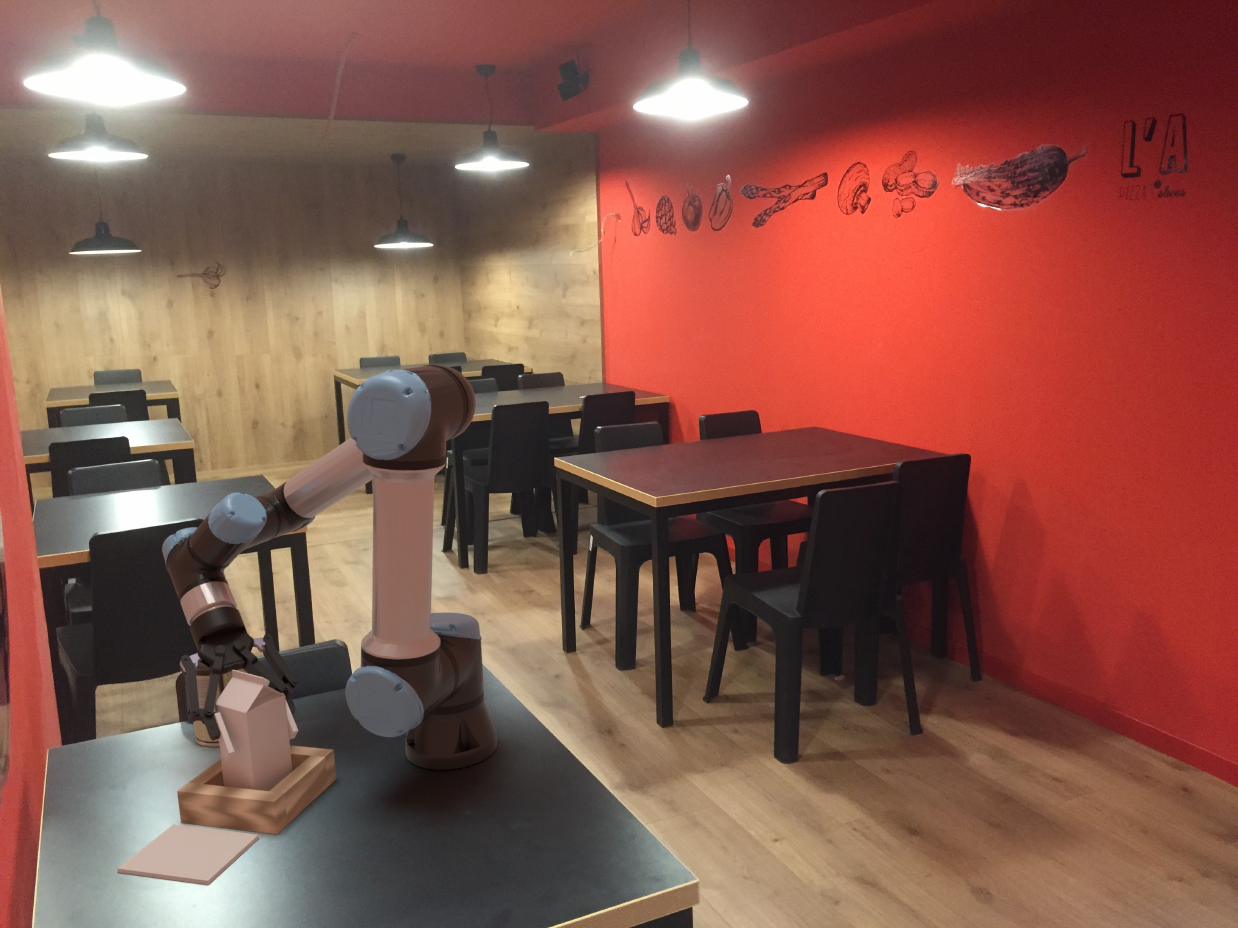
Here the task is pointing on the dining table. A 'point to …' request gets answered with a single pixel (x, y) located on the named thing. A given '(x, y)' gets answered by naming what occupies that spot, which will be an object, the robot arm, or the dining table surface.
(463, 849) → the dining table surface
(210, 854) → the pink mat
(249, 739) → the milk carton
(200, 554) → the robot arm
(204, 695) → the coffee can
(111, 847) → the dining table surface
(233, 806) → the frame
